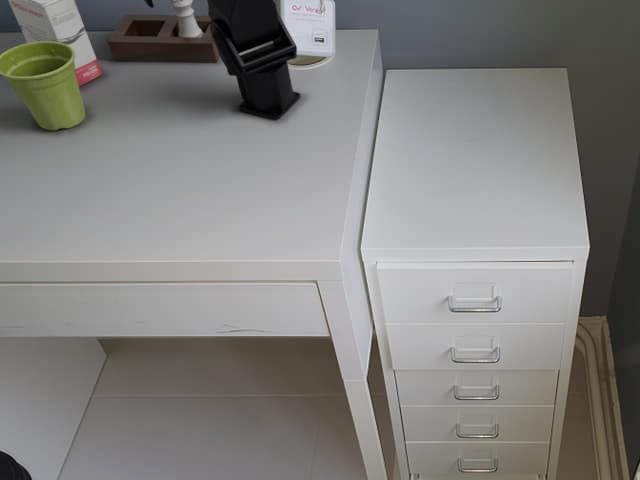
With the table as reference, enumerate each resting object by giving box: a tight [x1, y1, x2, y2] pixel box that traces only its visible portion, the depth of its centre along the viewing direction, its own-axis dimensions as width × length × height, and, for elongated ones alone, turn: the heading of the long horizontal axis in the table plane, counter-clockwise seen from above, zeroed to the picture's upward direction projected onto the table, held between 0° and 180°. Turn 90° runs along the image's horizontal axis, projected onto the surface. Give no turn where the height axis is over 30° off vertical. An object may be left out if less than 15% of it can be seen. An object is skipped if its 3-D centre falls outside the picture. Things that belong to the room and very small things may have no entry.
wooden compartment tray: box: [106, 13, 221, 64], centre depth 111 cm, size 9×15×3 cm, turn 90°
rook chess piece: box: [169, 0, 205, 38], centre depth 110 cm, size 4×4×8 cm
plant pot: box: [0, 41, 86, 131], centre depth 96 cm, size 9×9×9 cm
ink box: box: [7, 0, 103, 88], centre depth 103 cm, size 9×5×12 cm, turn 58°
